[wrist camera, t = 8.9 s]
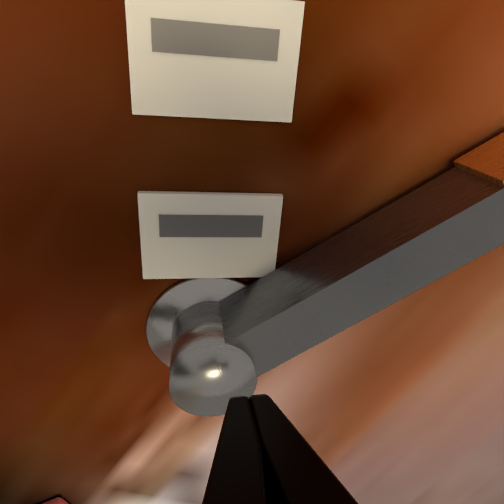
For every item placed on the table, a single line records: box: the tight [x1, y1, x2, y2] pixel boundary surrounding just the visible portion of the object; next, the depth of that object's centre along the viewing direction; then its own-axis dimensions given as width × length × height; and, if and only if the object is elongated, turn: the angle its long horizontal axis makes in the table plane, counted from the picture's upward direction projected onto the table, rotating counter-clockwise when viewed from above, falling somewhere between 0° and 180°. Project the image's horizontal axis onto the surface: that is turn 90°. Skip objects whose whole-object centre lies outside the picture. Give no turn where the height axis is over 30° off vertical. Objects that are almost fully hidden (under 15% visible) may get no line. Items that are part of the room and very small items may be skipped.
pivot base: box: [146, 278, 248, 367], centre depth 19 cm, size 6×6×1 cm
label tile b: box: [125, 0, 305, 123], centre depth 14 cm, size 6×4×1 cm, turn 86°
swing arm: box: [169, 132, 504, 416], centre depth 17 cm, size 18×4×4 cm, turn 120°
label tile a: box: [137, 191, 283, 279], centre depth 17 cm, size 6×4×1 cm, turn 86°
